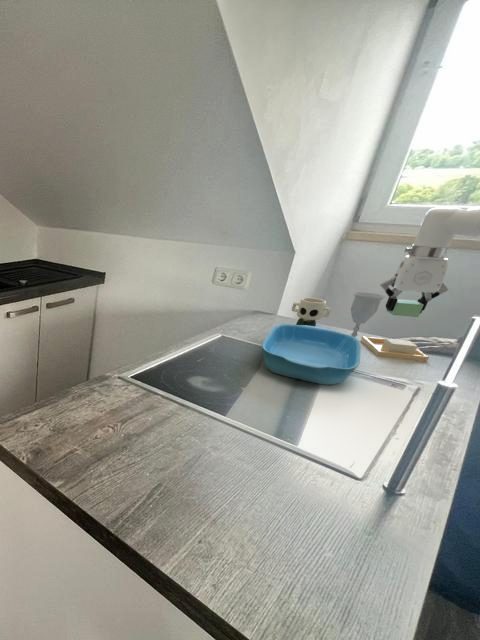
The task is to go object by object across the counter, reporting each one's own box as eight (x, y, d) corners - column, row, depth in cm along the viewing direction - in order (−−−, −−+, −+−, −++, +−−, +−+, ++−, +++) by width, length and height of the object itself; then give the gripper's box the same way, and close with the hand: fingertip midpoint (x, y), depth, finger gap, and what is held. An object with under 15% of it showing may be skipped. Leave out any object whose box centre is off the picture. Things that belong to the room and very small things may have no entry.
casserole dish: (350, 398, 99) (360, 373, 96) (250, 374, 112) (256, 352, 109) (354, 354, 124) (362, 333, 121) (271, 338, 137) (277, 319, 134)
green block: (410, 312, 123) (416, 300, 121) (418, 317, 119) (423, 304, 117) (386, 310, 125) (391, 298, 124) (392, 315, 121) (398, 302, 120)
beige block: (404, 352, 123) (410, 340, 121) (412, 358, 119) (417, 346, 117) (380, 349, 125) (385, 338, 123) (386, 355, 121) (391, 343, 119)
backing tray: (404, 346, 129) (407, 340, 128) (426, 363, 116) (429, 357, 116) (360, 341, 133) (362, 336, 132) (376, 357, 121) (379, 351, 120)
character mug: (282, 333, 142) (292, 299, 136) (287, 329, 146) (297, 295, 141) (318, 341, 134) (330, 305, 129) (323, 336, 138) (335, 301, 133)
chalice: (357, 345, 130) (378, 293, 123) (367, 353, 124) (389, 298, 117) (331, 343, 132) (349, 291, 125) (340, 350, 126) (359, 297, 119)
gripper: (395, 253, 115) (372, 311, 122) (476, 256, 108) (446, 317, 115) (385, 249, 121) (363, 305, 128) (460, 252, 114) (433, 310, 122)
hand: (403, 310), depth 122 cm, fingers closed on green block, 6 cm apart
